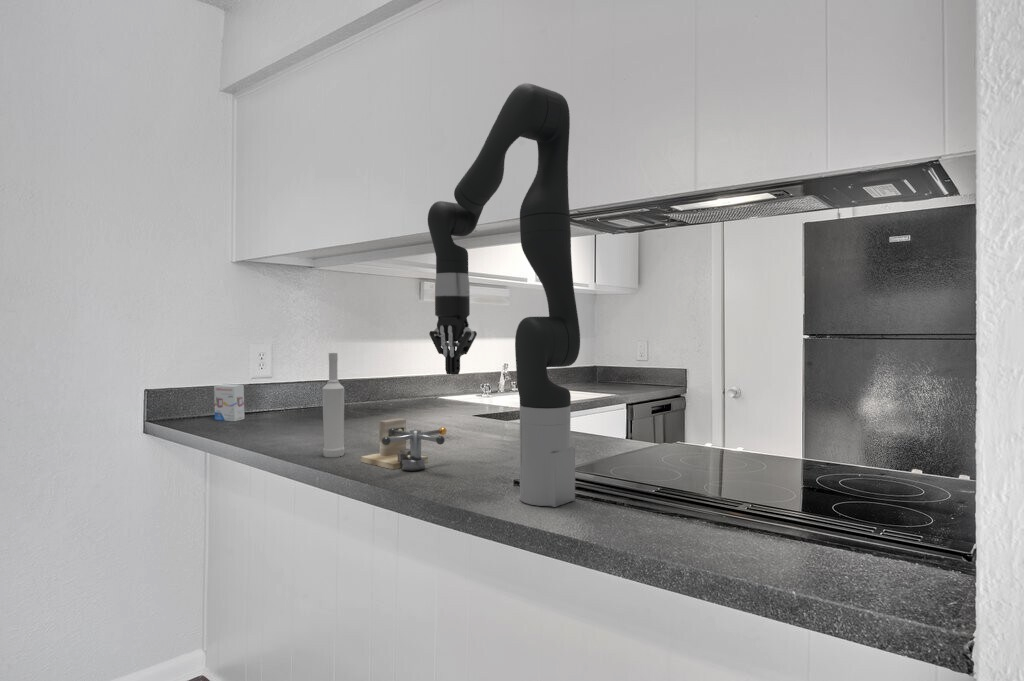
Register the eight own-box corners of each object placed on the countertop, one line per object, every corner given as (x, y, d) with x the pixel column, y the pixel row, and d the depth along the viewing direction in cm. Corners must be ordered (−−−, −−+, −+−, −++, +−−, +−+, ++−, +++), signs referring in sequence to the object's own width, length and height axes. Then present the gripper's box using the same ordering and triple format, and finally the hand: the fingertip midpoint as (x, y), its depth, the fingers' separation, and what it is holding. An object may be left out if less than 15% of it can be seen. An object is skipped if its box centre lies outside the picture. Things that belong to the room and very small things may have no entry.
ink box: (213, 420, 211) (213, 385, 211) (224, 418, 216) (223, 383, 216) (234, 421, 209) (234, 385, 208) (245, 419, 214) (244, 384, 213)
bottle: (318, 456, 153) (317, 353, 152) (333, 452, 158) (332, 352, 157) (334, 458, 151) (333, 353, 150) (349, 454, 155) (348, 352, 155)
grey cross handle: (473, 467, 140) (473, 430, 139) (410, 482, 126) (410, 441, 126) (420, 456, 151) (420, 421, 151) (357, 469, 138) (357, 431, 138)
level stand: (434, 463, 145) (434, 423, 145) (400, 471, 138) (400, 429, 137) (395, 455, 155) (394, 417, 154) (360, 461, 147) (360, 422, 147)
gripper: (486, 294, 136) (486, 374, 137) (444, 296, 145) (444, 371, 146) (461, 293, 131) (461, 377, 131) (419, 295, 139) (419, 373, 140)
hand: (452, 374), depth 138 cm, fingers closed
